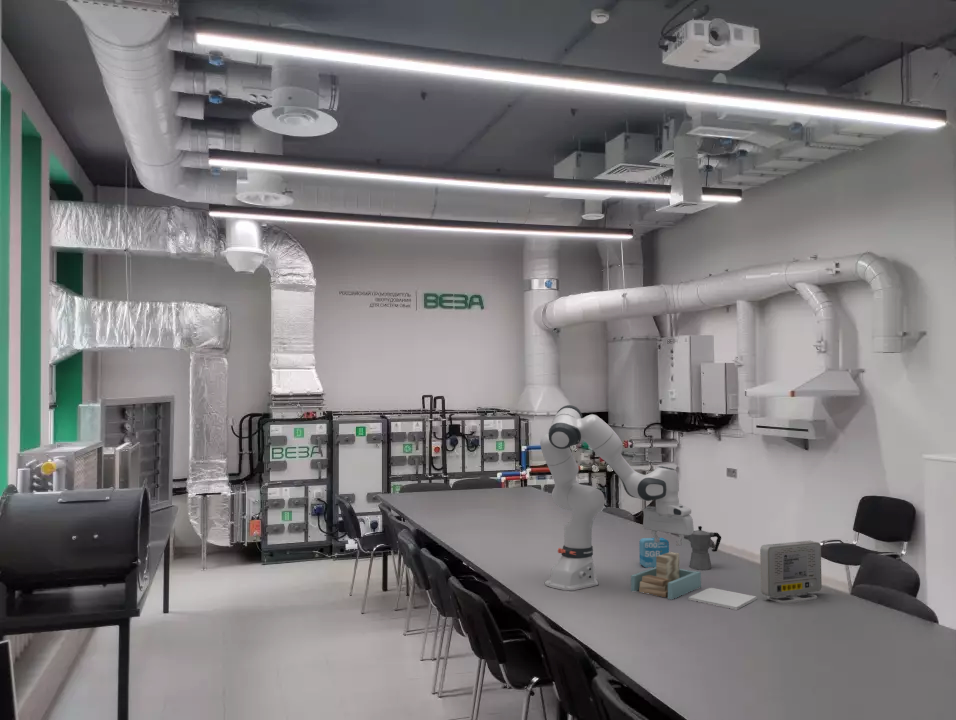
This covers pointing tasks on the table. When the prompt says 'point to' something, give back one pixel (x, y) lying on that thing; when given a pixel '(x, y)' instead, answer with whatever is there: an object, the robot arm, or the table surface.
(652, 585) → the offcut stack
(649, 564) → the data package
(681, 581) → the tray
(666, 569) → the beige wooden block
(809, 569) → the network device
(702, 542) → the coffeepot
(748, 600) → the pad
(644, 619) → the table surface
